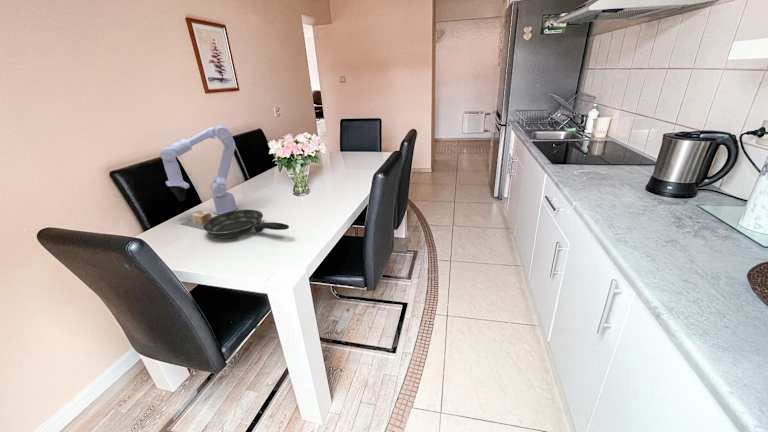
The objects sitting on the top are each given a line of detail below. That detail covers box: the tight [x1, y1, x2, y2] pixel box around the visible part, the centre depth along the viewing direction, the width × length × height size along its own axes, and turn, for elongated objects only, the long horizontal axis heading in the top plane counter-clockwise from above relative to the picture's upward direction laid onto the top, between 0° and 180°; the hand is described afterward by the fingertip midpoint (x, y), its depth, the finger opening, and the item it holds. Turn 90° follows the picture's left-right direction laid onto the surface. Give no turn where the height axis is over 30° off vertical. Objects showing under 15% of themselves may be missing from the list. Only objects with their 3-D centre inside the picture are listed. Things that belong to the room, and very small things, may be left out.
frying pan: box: [202, 209, 290, 239], centre depth 138 cm, size 44×25×7 cm, turn 65°
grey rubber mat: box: [179, 216, 214, 231], centre depth 152 cm, size 11×18×1 cm, turn 64°
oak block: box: [189, 210, 212, 225], centre depth 151 cm, size 5×4×8 cm
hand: (182, 200), depth 153 cm, fingers closed
